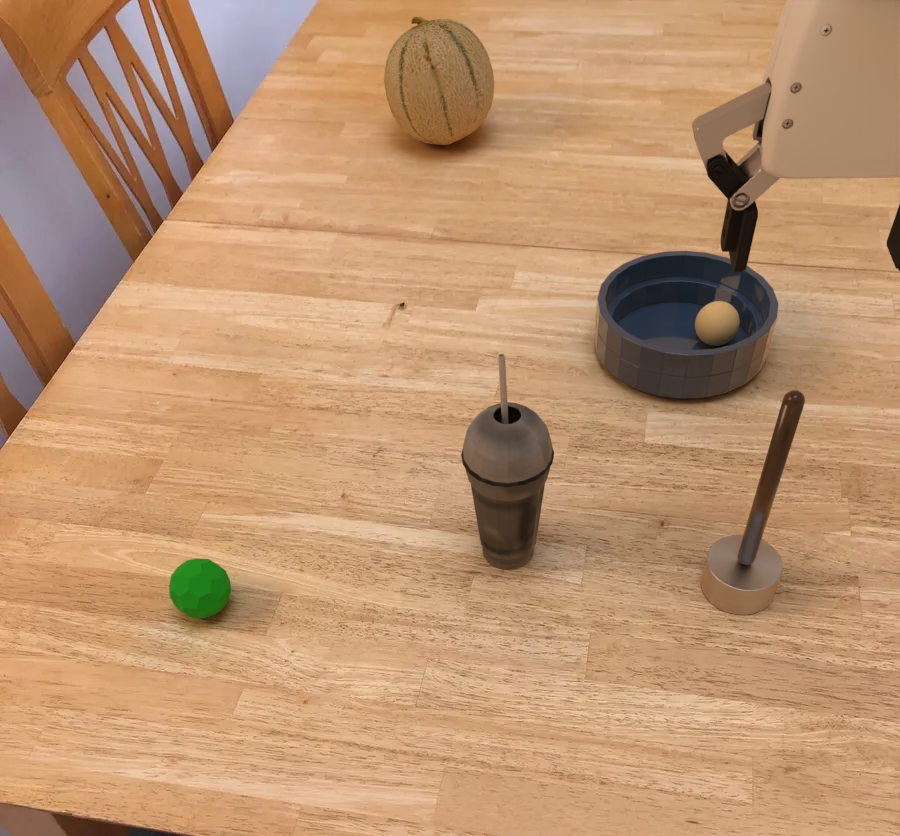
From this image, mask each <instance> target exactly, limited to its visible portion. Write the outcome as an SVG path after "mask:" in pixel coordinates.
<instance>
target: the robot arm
mask: <svg viewBox="0 0 900 836" xmlns="http://www.w3.org/2000/svg"><path fill="white" fill-rule="evenodd" d="M775 30H776V31H775V34H774V37H773V40H772V44H771V47H770V51H769V54H768V58H767V61H766V65H765V69H764V72H763V76H762V79H761V84H760V85H758V86H756V87H754V88H753V89H751V90H749V91H746V92H745V93H743V94H740V95H739V96H736V97H735V98H733V99H730V100H729V101H727V102H725V103H722V104H721V105H719V106H717V107H715V108H712V109H711V110H708V111H707V112H705V113H703V114H701V115H699V116H697V117H696V118H694V120H693V122H692V125H691V128H692V134H693V139H694V142H695V144H696V147H697V150H698V153H699V155H700V158H701V161H702V163H703V165H704V168H705V171H706V175H707V177H708V179H709V180H710V181H711V182H712V184H714V185H715V187H716V188H717V189H718V190H719V191H720V192H721V194H723V196H724V197H725V198H726V199H727V202H726V207H725V213H724V216H723V217H724V218H723V222H722V228H721V234H720V250H721V252H722V253H727V252H728V255H729V258H730V260H731V265H732V270H733V272H742V271H743V270H746V267H747V266H748V262H749V258H750V253H751V250H752V245H753V240H754V235H755V232H756V227H757V222H758V217H759V211H758V206H757V202H756V200H757V199H759V198H760V197H761V196H762V195H763V194H764V193H765V192H766V191H768V190H769V189H770V188H771V187H772V186H773V185H774V184H775V183H777V182H778V181H779V180H780V179H786V180H843V179H846V180H847V179H848V180H849V179H894V178H896V179H897V178H900V0H785V2H784V5H783V9H782V12H781V14H780V17H779V21H778V24H777V27H776V29H775ZM750 126H751V133H752V135H751V136H752V140H753V141H757V143H756V144H755V145H754V146H753V147H752V148H750V149H749V150H748V151H747V153H745V154H744V155H743V156H742V157H741V158H740V159H739V160H738V161H737V162H735V160H734V159H733V158H732V157H731V156H730V154H729V153H728V151H726V150H725V148H724V145H723V143H724V141H725V140H726V138H728V137H730V136H731V135H733V134H736V133H738V132H740V131H742V130H744V129H746V128H748V127H750ZM886 247H887V250H888V254H889V255H890V257H891V261H892V262H893V265H894V268H895V269H896V270H898V271H899V272H900V203H899V205H898V208H897V210H896V213H895V216H894V219H893V222H892V225H891V227H890V230H889V233H888V236H887V239H886Z"/></svg>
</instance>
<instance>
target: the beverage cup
mask: <svg viewBox="0 0 900 836" xmlns="http://www.w3.org/2000/svg"><path fill="white" fill-rule="evenodd" d="M497 358H498V359H497V360H498V376H499V378H498V379H499V394H500V395H499V396H500V403H496V404H493V405H490V406H488V407H485V409H483V410H482V411H480V412H479V413H478V414H477V415H476V416H475V417H474V419H473V420H472V421H471V422H470V424H469V425H468V427H467V430H466V433H465V435H464V436H465V437H464V440H463V444H462V450H461V453H460V457H461V462H462V466H463V467H464V469H465V473H466V476H467V479H468V482H469V483H470V488H471V493H472V500H473V506H474V511H475V517H476V524H477V529H478V536H479V541H480V546H481V547H482V555H483V558H484V559H485V560H486V562H487V563H488V564H490V565H491V566H492V567H494V568H497V569H500V570H507V571H508V570H509V571H510V570H517V569H519V568H521V567H524V566H526V565H527V564H528V563H529V562H530V561H531V559H532V558H533V557H534V553H535V552H534V551H535V547H536V543H537V538H538V531H539V526H540V525H539V524H540V519H541V513H542V505H543V499H544V493H545V486H546V483H547V480H548V478H549V475H550V470H551V467H552V465H553V464H554V457H555V451H554V447H553V442H552V439H551V435H550V432H549V428H548V427H547V424H546V423H545V422H544V420H543V419H542V418H541V417H540V415H539V414H538V413H537V412H536V411H534V410H533V409H531V408H529V407H528V406H526V405H523V404H520V403H517V402H508V388H507V387H508V385H507V367H506V354H505V353H499V354H498V355H497Z"/></svg>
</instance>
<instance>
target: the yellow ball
mask: <svg viewBox="0 0 900 836" xmlns="http://www.w3.org/2000/svg"><path fill="white" fill-rule="evenodd" d="M739 324H740V319H739V315H738V312H737V311H736V309H735V308H734V307H733V306H732V305H731V304H729V303H727V302H723V301H715V302H711V303H709V304H707V305H705V306H704V307H703V308H702V309H701V310H700V311H699V313H698V315H697V317H696V321H695V330H696V333H697V335H698V337H699V338H700V340H702V341H703V342H704V343H706V344H708V345H711V346H720V345H723V344H726V343H728V342H729V341H730V340H732V339H733V338H734V336H735V335H736V333H737V331H738V329H739Z"/></svg>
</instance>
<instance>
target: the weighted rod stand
mask: <svg viewBox="0 0 900 836" xmlns="http://www.w3.org/2000/svg"><path fill="white" fill-rule="evenodd" d="M805 403H806V397H805V395H804V393H803V392H802V391H800V390H798V389H792V390H789V391H787V392H786V393H785V394H784V395H783V398H782V400H781V405H780V409H779V411H778V415H777V418H776V422H775V426H774V429H773V431H772V435H771V438H770V443H769V446H768V449H767V451H766V452H767V453H766V456H765V459H764V463H763V466H762V469H761V473H760V477H759V481H758V483H757V486H756V489H755V493H754V497H753V500H752V505H751V508H750V511H749V515H748V518H747V521H746V525H745V528H744V532H743V534H733V535H728V536H724V537H722V538H720V539H718V540H717V541H716V542H714V543H713V544H712V545H711V547H710V548H709V549H708V552H707V555H706V559H705V562H704V566H703V571H702V574H701V579H700V586H701V589H702V593H703V595H704V596H705V598H706V599H707V600H708V602H709V603H710V604H712V605H713V606H714V607H715V608H717V609H718V610H721V611H723V612H725V613H728V614H733V615H738V616H747V615H753V614H756V613H759V612H762V611H763V610H765V609H766V608H767V607H769V606H770V604H772V602H773V600H774V598H775V595H776V592H777V588H778V586H779V583H780V580H781V577H782V575H783V572H784V571H783V570H784V564H783V560H782V557H781V555H780V554H779V552H778V550H777V549H776V548H774V546H772V545H771V544H770V543H768V542H767V541H765V540H763V536H764V532H765V531H766V527H767V523H768V520H769V518H770V513H771V510H772V508H773V505H774V502H775V499H776V495H777V491H778V489H779V485H780V482H781V479H782V476H783V474H784V469H785V467H786V463H787V461H788V457H789V454H790V450H791V448H792V444H793V441H794V438H795V435H796V431H797V429H798V425H799V422H800V419H801V416H802V412H803V409H804V407H805Z"/></svg>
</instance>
